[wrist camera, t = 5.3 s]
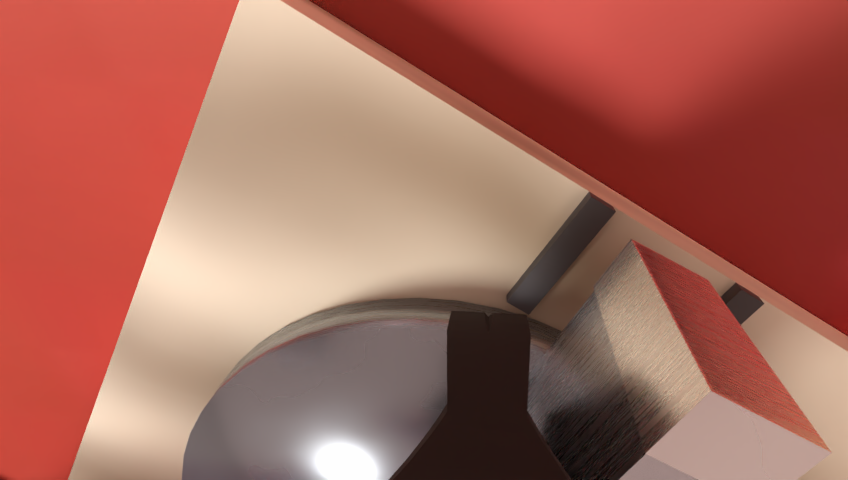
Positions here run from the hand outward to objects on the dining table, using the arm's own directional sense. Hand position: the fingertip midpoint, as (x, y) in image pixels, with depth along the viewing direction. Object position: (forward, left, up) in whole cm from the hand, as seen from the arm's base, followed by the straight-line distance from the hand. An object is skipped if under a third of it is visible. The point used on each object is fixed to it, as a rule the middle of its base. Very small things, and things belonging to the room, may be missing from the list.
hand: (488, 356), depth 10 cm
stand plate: (-7, -3, -4) cm, 8 cm away
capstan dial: (-5, -2, -2) cm, 6 cm away
